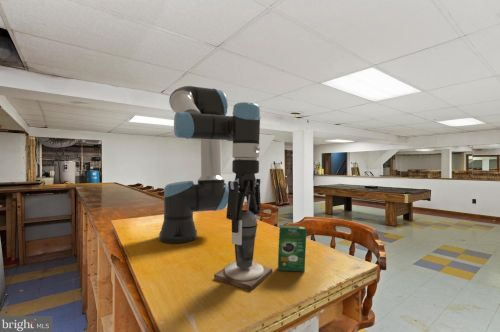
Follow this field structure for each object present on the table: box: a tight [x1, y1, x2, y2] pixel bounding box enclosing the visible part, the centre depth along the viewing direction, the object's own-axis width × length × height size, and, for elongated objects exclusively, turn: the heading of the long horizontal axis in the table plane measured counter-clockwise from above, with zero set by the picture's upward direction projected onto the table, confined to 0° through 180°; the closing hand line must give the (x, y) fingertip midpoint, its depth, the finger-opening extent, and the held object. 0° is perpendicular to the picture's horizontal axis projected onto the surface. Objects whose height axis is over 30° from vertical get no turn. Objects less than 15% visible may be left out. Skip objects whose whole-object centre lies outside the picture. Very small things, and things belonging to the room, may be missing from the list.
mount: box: [213, 260, 273, 292], centre depth 71 cm, size 12×12×2 cm
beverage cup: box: [234, 195, 258, 268], centre depth 70 cm, size 7×7×20 cm
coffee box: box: [277, 225, 307, 273], centre depth 75 cm, size 8×3×13 cm, turn 87°
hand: (244, 239), depth 71 cm, fingers open, 7 cm apart
